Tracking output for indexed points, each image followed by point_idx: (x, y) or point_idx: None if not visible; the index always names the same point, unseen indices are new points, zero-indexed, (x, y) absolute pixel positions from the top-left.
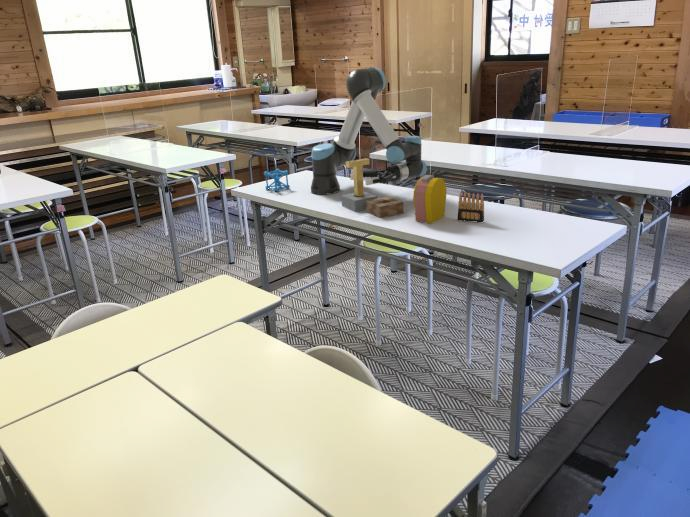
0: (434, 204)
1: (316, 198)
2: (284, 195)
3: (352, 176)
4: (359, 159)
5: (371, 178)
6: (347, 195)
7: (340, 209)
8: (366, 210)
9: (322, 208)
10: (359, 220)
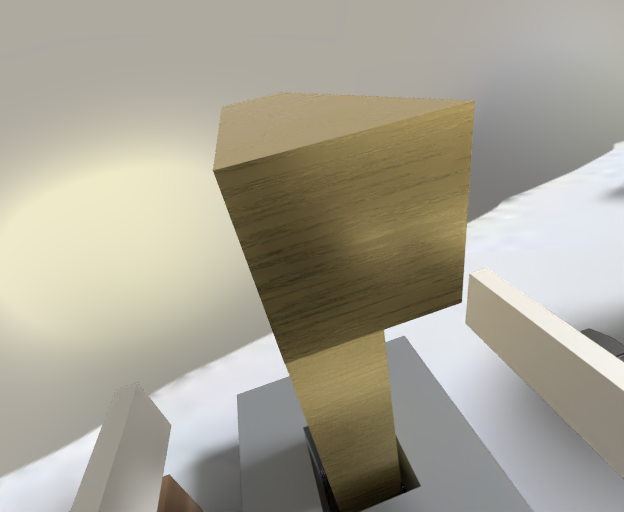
0: None
1: (582, 281)
2: (612, 201)
3: (479, 305)
4: (328, 97)
5: (86, 475)
6: (391, 368)
7: None
8: (196, 508)
9: None
10: None
